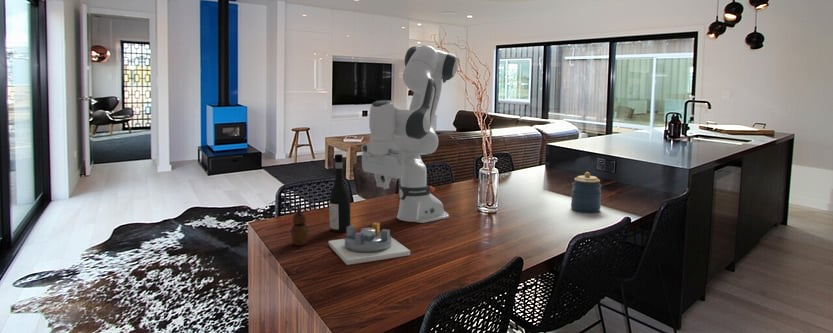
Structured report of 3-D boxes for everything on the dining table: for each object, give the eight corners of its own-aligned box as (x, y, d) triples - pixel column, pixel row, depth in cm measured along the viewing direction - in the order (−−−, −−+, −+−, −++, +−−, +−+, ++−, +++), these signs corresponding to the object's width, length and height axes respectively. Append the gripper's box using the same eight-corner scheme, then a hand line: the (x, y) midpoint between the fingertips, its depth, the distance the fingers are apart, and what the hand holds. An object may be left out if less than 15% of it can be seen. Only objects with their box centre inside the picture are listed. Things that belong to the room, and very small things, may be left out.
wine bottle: (333, 234, 189) (331, 156, 184) (327, 229, 196) (325, 154, 191) (353, 231, 193) (352, 155, 188) (346, 226, 200) (345, 152, 195)
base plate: (386, 237, 186) (386, 233, 185) (410, 255, 166) (410, 250, 166) (328, 244, 176) (328, 240, 176) (347, 264, 157) (346, 260, 156)
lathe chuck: (381, 235, 181) (381, 220, 180) (398, 248, 167) (398, 231, 166) (339, 241, 175) (338, 225, 174) (353, 255, 160) (352, 237, 159)
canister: (569, 211, 224) (571, 173, 222) (571, 205, 236) (573, 168, 233) (599, 214, 220) (602, 175, 217) (600, 207, 231) (603, 170, 229)
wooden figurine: (293, 241, 180) (292, 201, 178) (309, 241, 181) (308, 201, 178) (290, 247, 173) (288, 205, 171) (307, 247, 174) (305, 205, 172)
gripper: (408, 150, 164) (408, 191, 166) (373, 144, 179) (373, 182, 181) (393, 152, 160) (393, 193, 162) (358, 146, 175) (359, 184, 177)
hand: (382, 187), depth 172 cm, fingers open, 2 cm apart
